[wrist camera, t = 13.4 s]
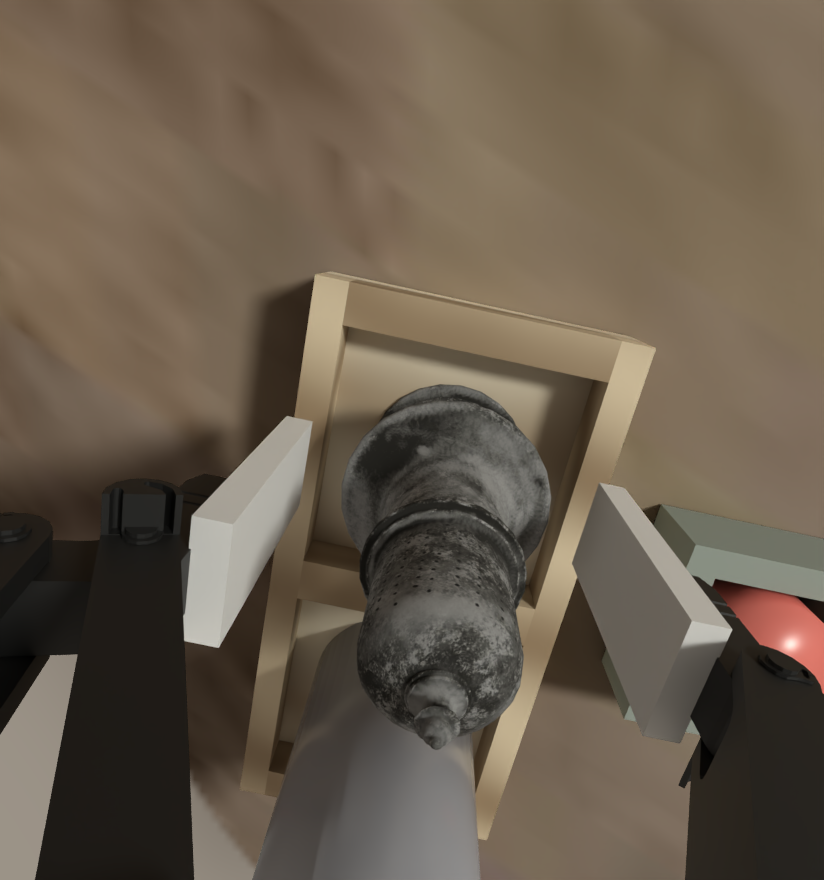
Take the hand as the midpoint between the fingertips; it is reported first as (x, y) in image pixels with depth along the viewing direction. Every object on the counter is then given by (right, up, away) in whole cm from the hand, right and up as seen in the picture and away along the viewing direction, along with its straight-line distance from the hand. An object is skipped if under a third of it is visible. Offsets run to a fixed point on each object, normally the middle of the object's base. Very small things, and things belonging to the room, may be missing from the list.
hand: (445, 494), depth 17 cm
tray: (-1, -3, +5) cm, 6 cm away
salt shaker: (0, +1, +3) cm, 3 cm away
